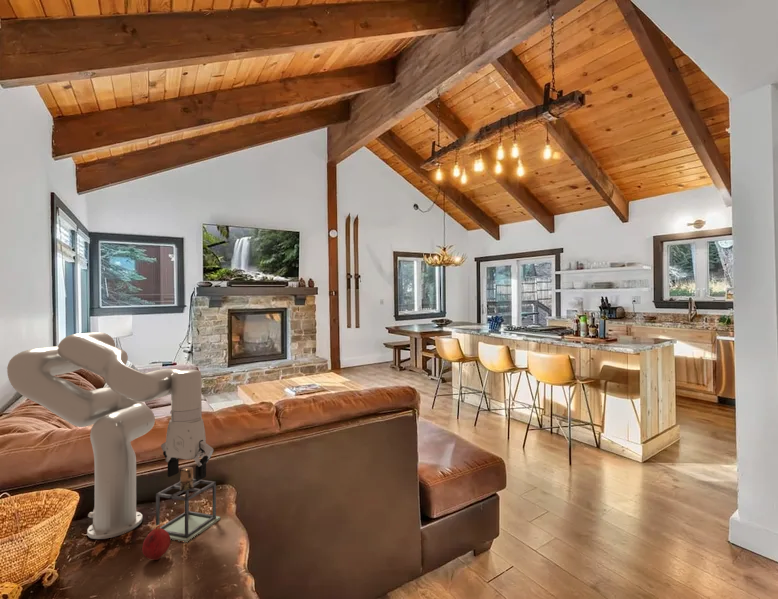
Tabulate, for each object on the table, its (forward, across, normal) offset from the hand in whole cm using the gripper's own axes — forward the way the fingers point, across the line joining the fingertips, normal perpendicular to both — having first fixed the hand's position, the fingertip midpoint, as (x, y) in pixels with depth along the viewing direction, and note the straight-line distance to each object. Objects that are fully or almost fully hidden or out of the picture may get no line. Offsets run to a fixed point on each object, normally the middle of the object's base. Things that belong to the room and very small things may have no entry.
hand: (186, 477), depth 108 cm
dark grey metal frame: (+13, 0, 0) cm, 13 cm away
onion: (+14, +4, -14) cm, 20 cm away
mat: (+14, 0, 0) cm, 14 cm away
